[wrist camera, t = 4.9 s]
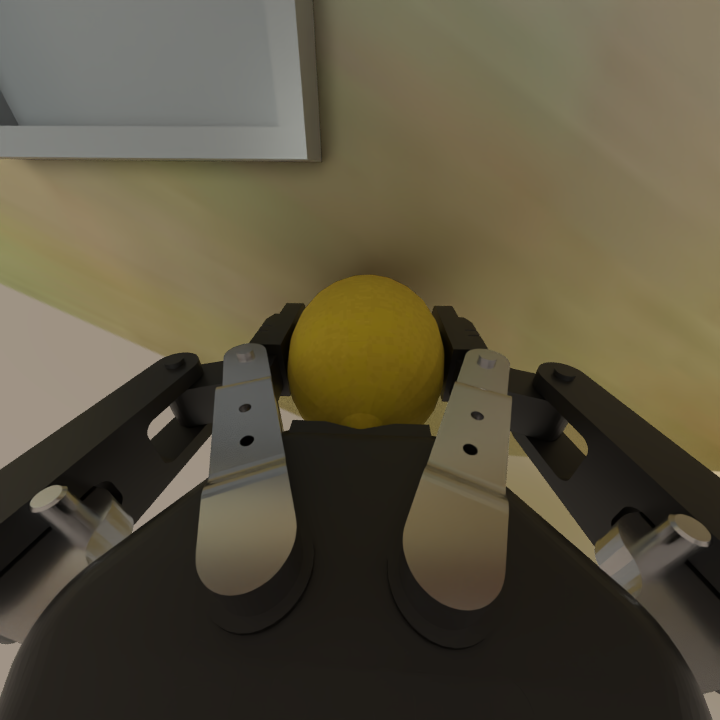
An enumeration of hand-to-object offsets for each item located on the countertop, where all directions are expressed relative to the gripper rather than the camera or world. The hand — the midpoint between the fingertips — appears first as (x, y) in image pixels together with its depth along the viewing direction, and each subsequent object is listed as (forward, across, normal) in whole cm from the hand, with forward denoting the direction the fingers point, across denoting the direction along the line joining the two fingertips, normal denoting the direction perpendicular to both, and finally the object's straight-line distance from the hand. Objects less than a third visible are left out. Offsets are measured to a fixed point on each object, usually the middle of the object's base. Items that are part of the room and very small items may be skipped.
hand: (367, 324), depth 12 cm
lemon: (+2, 0, 0) cm, 2 cm away
